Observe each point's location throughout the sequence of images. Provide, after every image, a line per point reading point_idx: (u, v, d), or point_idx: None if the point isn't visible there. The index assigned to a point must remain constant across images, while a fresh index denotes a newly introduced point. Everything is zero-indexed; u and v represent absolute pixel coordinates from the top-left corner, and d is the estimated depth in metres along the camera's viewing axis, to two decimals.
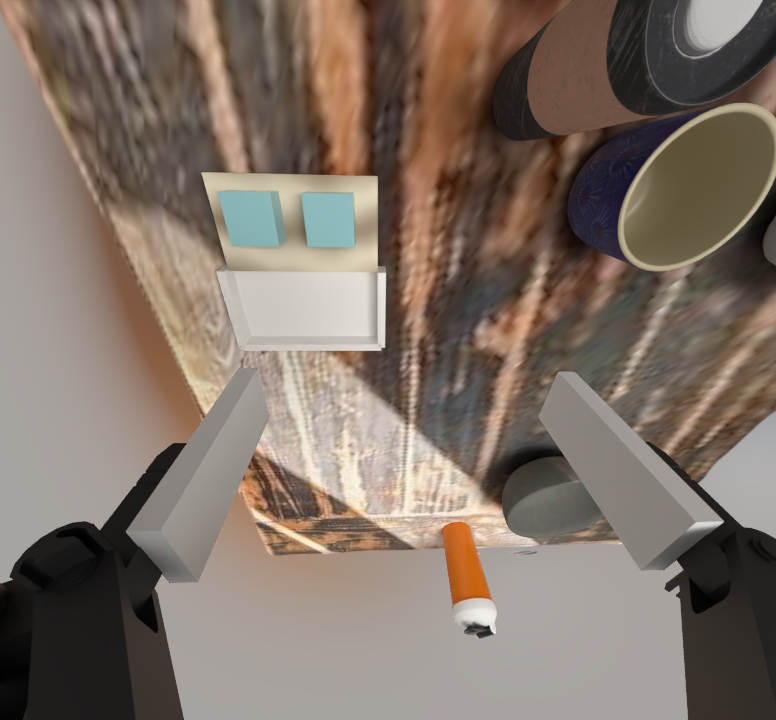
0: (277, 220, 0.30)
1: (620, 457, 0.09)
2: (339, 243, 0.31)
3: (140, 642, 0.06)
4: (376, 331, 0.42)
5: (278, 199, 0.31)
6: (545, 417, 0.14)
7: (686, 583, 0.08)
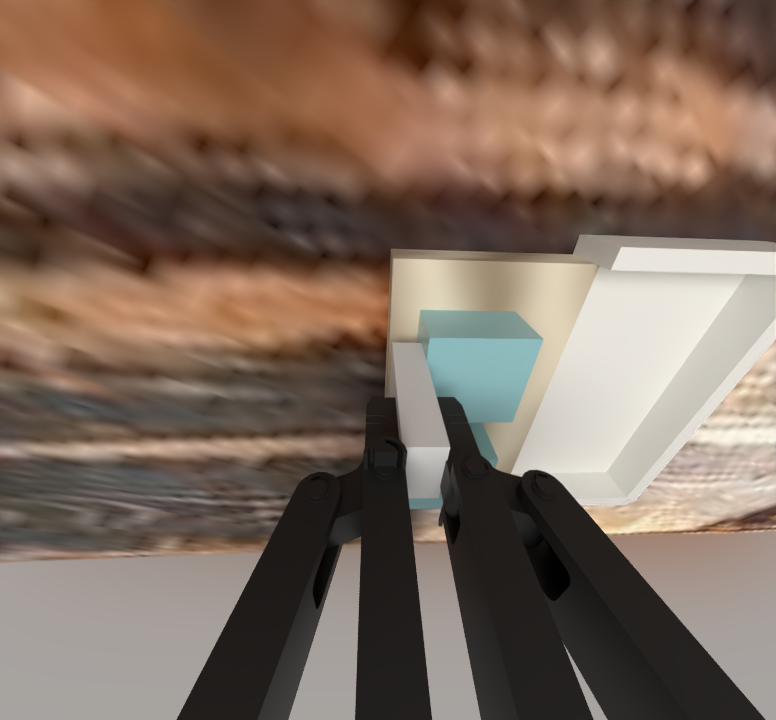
0: None
1: None
2: (524, 369, 0.13)
3: None
4: None
5: None
6: None
7: (445, 517, 0.09)
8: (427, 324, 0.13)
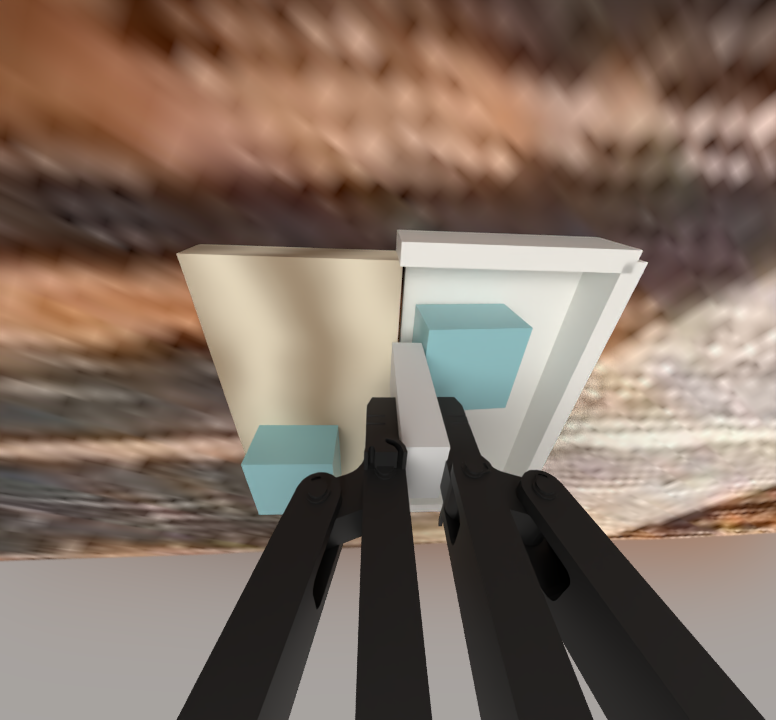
0: (292, 451, 0.17)
1: None
2: (515, 356, 0.14)
3: None
4: None
5: (268, 431, 0.18)
6: None
7: (445, 517, 0.09)
8: (424, 317, 0.14)
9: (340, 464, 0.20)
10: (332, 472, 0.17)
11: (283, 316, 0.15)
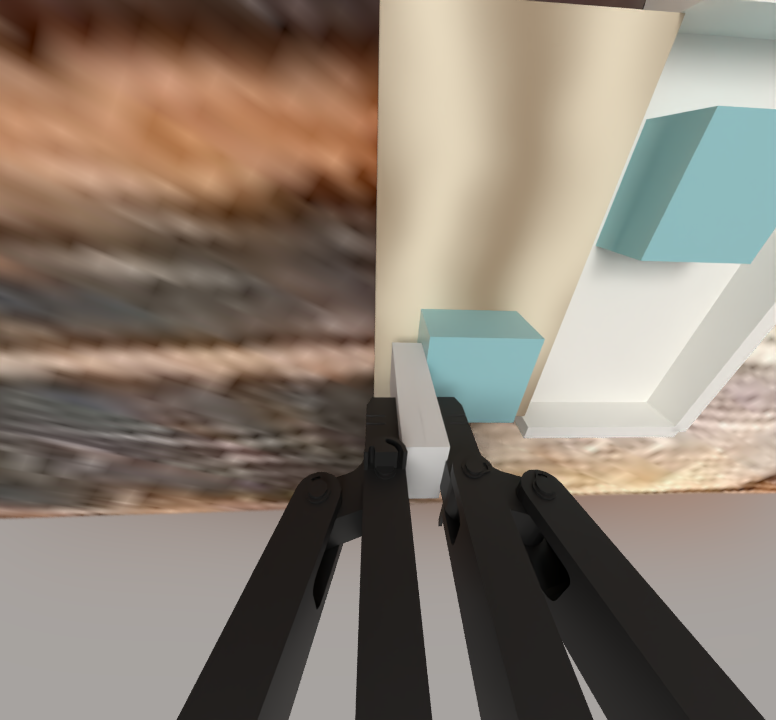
0: (483, 328, 0.13)
1: None
2: None
3: None
4: None
5: (437, 313, 0.14)
6: None
7: (444, 517, 0.09)
8: (685, 112, 0.11)
9: None
10: (537, 353, 0.13)
11: (491, 118, 0.11)
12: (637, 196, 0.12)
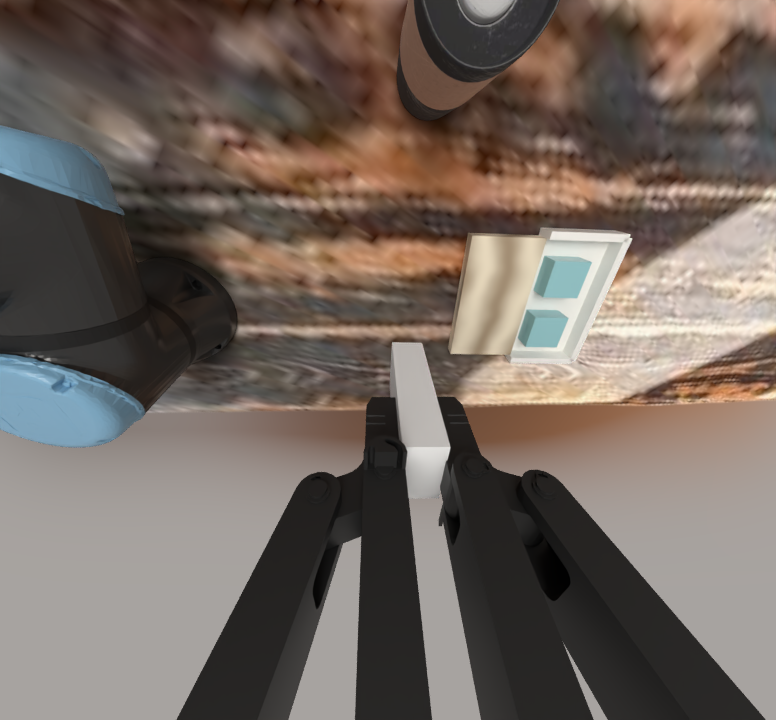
0: (549, 315, 0.43)
1: None
2: (584, 274, 0.39)
3: None
4: None
5: (533, 310, 0.45)
6: None
7: (445, 517, 0.09)
8: (551, 258, 0.39)
9: None
10: (566, 322, 0.43)
11: (498, 259, 0.39)
12: (542, 277, 0.41)
